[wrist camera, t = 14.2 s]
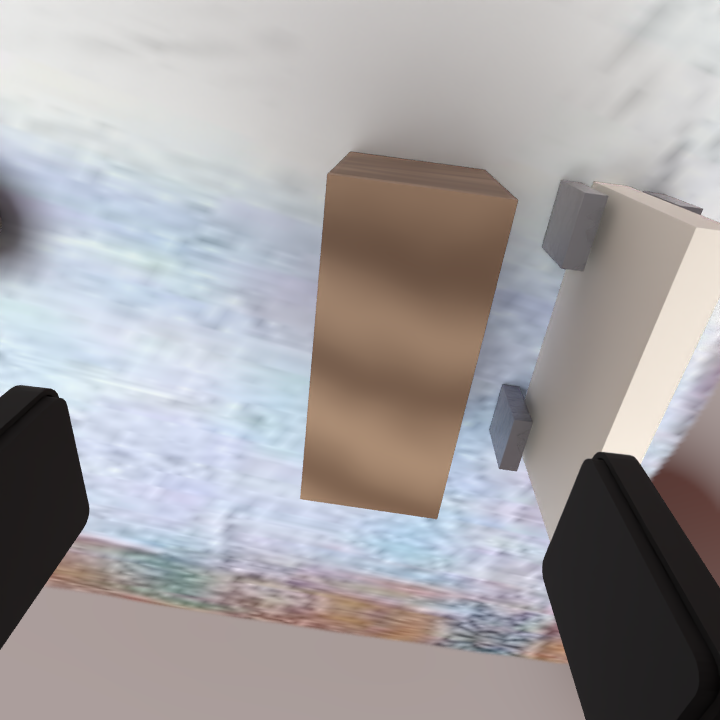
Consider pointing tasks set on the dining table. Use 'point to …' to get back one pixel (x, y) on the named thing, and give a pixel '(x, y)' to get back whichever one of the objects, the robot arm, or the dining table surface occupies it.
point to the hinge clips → (570, 251)
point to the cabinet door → (619, 339)
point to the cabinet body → (398, 327)
